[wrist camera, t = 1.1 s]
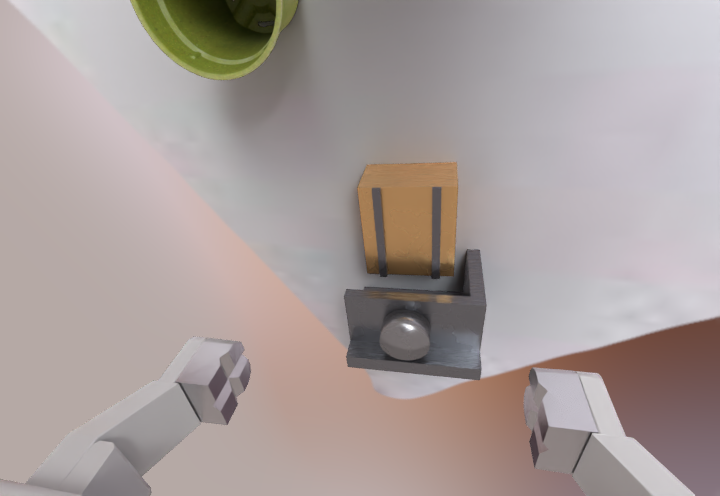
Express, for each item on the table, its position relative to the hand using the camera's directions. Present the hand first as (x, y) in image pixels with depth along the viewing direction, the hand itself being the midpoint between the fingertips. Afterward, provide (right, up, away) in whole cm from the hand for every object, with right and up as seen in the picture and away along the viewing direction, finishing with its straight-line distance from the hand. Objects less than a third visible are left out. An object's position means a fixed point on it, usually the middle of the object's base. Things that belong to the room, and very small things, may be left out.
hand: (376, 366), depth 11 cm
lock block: (+5, +7, +26) cm, 27 cm away
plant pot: (-8, +23, +17) cm, 30 cm away
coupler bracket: (+5, 0, +31) cm, 31 cm away
